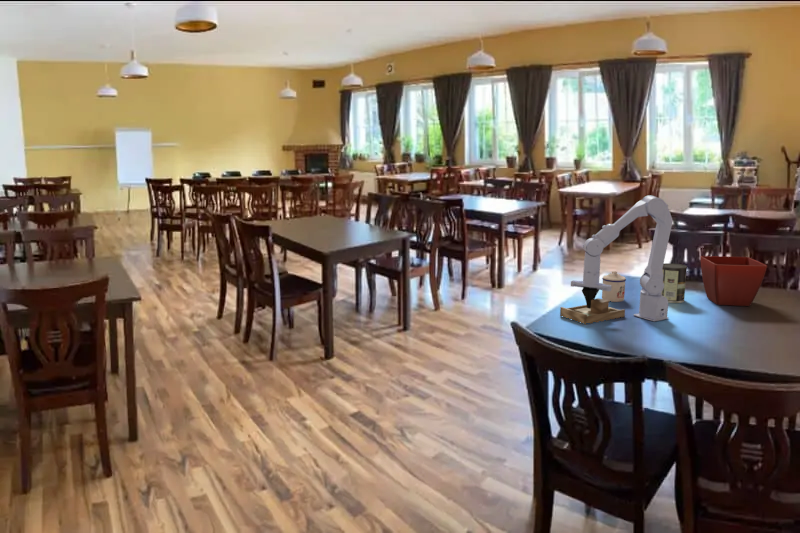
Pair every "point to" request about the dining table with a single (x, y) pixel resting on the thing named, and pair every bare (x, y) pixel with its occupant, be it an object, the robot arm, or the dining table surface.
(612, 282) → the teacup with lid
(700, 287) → the dining table surface
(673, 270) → the coffee can
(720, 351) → the dining table surface
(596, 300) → the walnut block
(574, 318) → the board
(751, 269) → the plant pot
